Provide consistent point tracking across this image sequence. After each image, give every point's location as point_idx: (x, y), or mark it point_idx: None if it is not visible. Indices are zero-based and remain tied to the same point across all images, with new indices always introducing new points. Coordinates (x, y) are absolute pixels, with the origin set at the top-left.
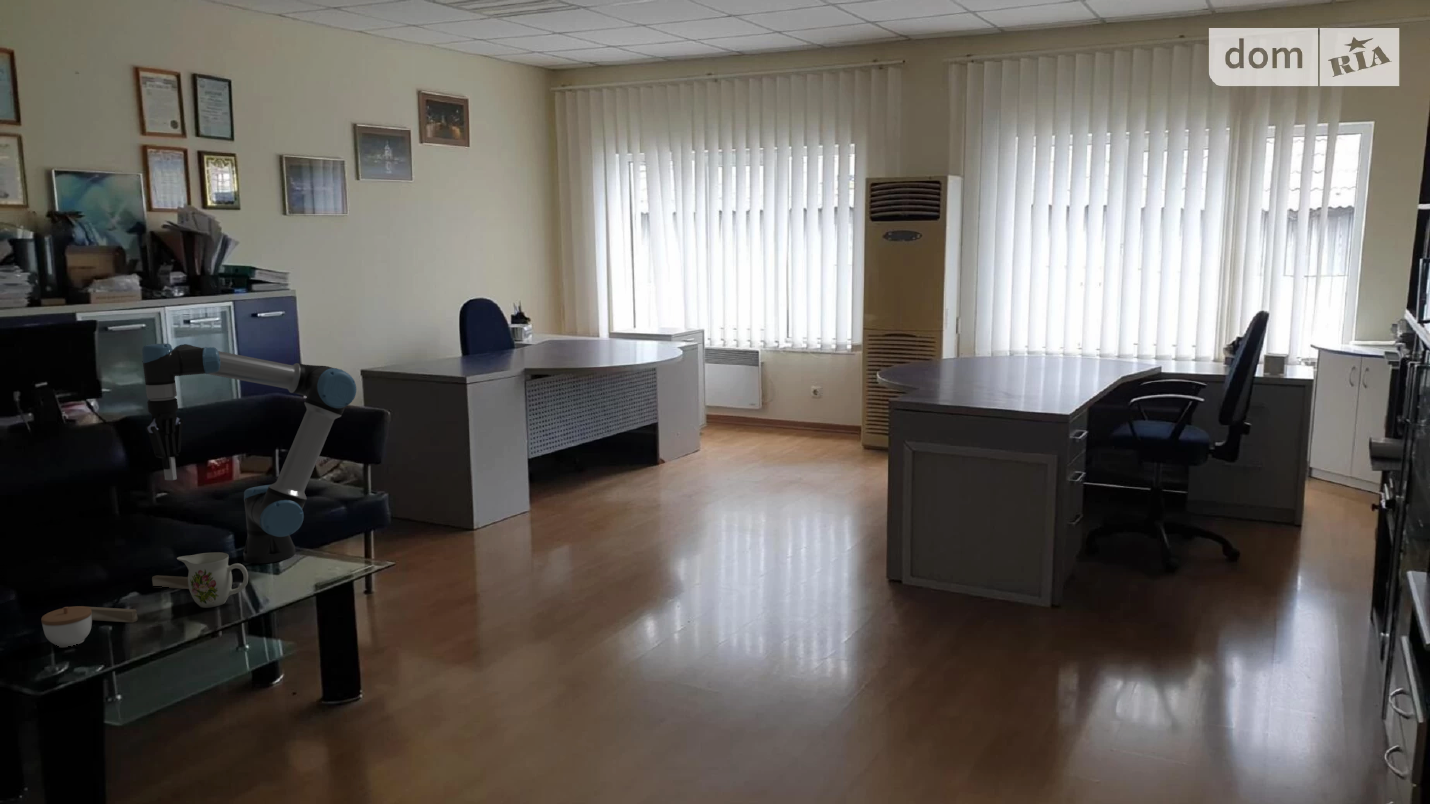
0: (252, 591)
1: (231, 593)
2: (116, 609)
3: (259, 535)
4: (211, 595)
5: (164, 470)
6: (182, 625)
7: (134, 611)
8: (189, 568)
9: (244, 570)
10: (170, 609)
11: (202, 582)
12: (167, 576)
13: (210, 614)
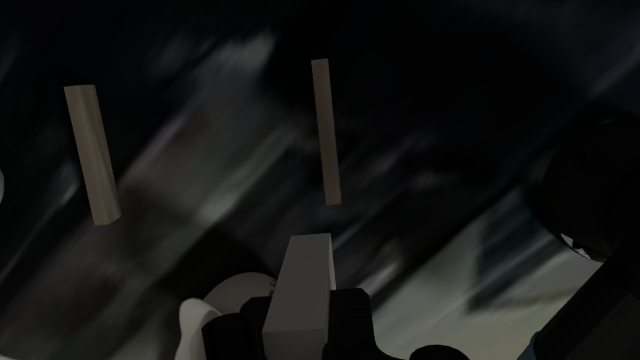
0: None
1: None
2: (91, 177)
3: (602, 231)
4: None
5: (283, 272)
6: (134, 330)
7: (104, 223)
8: (198, 323)
9: None
10: (197, 235)
11: (196, 354)
12: (327, 101)
13: None
